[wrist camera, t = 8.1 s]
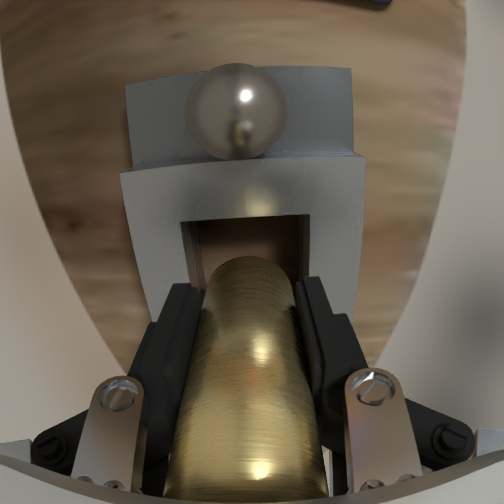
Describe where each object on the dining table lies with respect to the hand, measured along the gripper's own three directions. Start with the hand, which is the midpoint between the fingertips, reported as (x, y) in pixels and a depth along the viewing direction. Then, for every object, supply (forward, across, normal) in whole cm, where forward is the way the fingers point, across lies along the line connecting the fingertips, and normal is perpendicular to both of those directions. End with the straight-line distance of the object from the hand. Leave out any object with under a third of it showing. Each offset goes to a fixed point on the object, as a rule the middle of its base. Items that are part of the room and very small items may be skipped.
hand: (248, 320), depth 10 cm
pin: (+2, 0, 0) cm, 2 cm away
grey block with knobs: (+6, 0, 0) cm, 6 cm away
